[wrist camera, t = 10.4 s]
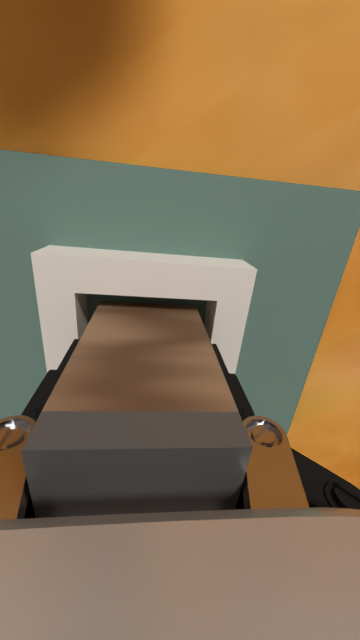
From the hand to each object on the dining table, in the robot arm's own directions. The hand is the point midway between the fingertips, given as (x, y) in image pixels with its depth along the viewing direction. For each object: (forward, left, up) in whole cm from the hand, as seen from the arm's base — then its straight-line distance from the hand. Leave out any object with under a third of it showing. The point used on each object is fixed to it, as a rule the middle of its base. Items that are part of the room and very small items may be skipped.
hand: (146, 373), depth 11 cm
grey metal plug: (0, 0, -2) cm, 2 cm away
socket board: (0, 0, -4) cm, 4 cm away
